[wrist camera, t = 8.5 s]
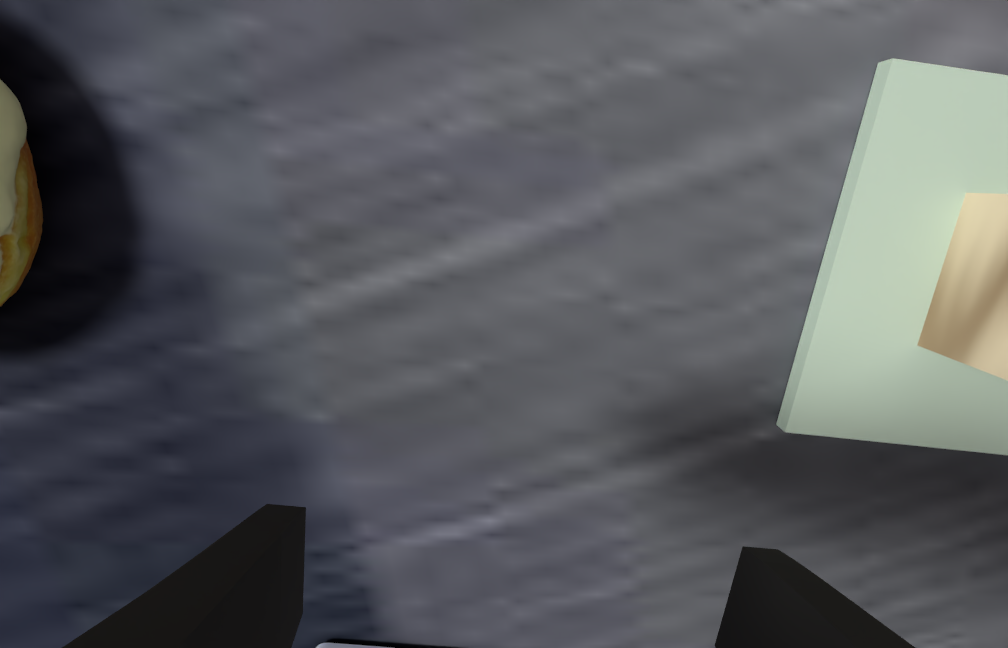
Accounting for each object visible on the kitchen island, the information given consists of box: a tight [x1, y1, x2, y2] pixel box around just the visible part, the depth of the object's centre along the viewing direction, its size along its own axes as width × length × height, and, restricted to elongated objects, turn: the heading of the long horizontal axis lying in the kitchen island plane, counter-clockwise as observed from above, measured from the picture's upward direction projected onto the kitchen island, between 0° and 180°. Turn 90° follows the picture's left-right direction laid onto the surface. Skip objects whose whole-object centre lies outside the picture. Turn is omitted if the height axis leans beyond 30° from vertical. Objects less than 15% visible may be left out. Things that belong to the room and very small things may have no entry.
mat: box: [776, 59, 1008, 455], centre depth 18 cm, size 12×12×1 cm
